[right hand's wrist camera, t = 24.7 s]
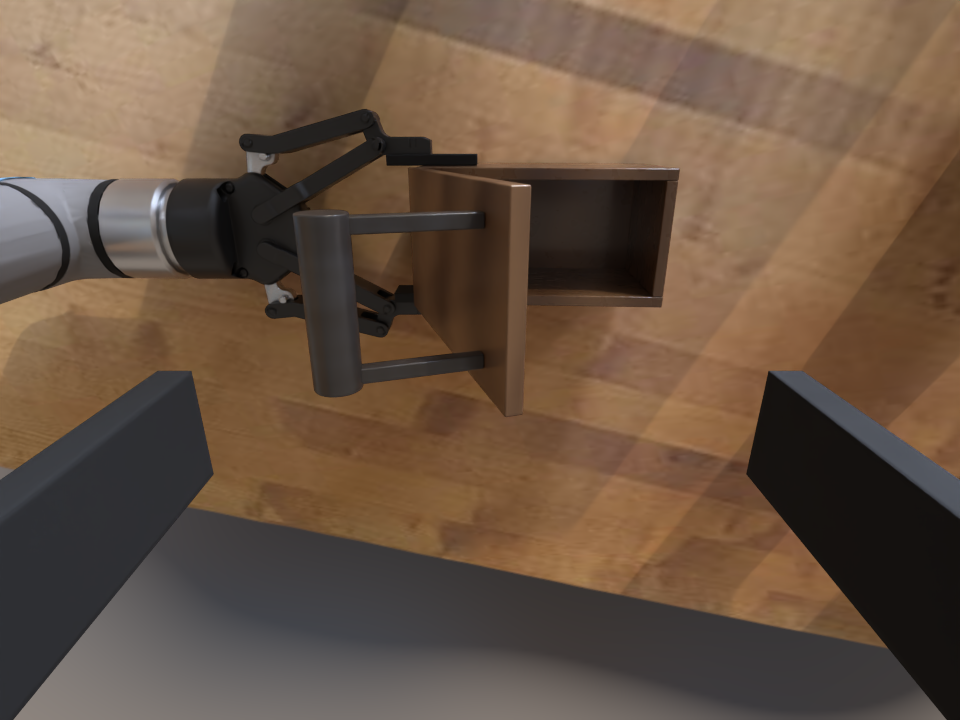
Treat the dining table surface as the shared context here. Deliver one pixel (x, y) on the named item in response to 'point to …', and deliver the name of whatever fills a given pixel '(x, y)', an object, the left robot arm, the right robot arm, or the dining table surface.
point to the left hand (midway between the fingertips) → (477, 229)
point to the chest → (593, 230)
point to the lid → (427, 284)
